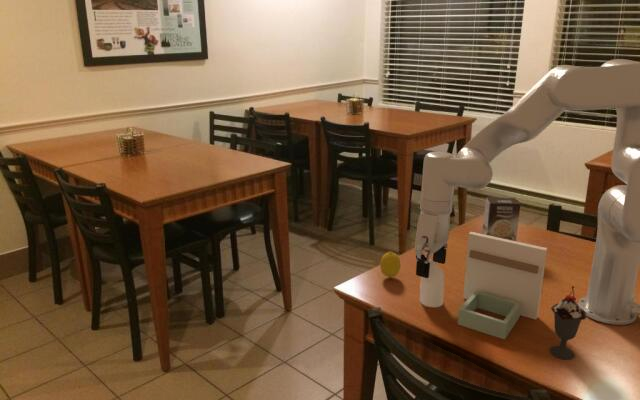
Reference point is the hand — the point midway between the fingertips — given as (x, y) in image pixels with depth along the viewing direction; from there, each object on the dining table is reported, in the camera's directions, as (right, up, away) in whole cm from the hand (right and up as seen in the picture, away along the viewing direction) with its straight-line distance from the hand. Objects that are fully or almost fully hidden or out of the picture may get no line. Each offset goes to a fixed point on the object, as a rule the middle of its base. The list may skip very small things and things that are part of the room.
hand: (430, 269), depth 130 cm
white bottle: (+1, -9, +3) cm, 9 cm away
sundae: (+24, -16, -18) cm, 34 cm away
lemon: (-8, -5, +16) cm, 18 cm away
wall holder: (+13, -11, -5) cm, 18 cm away
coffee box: (+28, +2, +34) cm, 44 cm away
